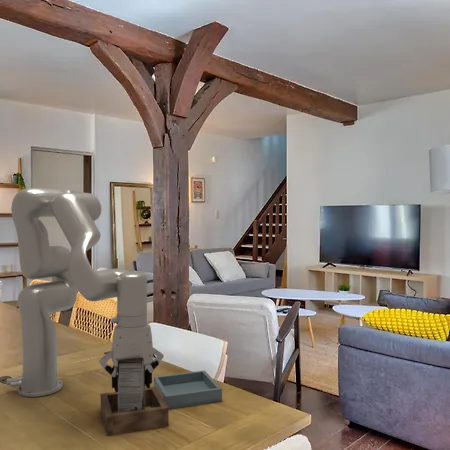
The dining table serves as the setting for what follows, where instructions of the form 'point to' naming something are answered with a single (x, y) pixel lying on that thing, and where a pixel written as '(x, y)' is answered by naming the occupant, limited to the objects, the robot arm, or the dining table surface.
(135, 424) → the walnut tray
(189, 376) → the slate tray
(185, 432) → the dining table surface
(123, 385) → the coffee box
